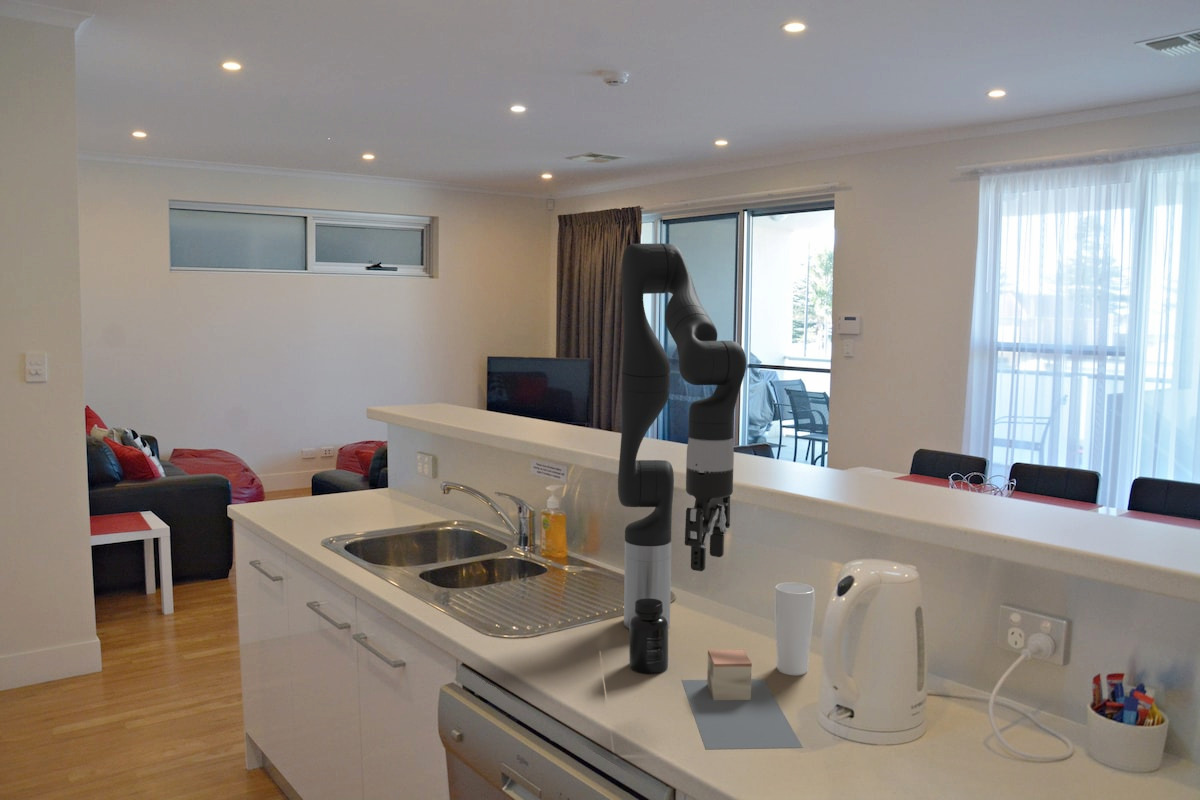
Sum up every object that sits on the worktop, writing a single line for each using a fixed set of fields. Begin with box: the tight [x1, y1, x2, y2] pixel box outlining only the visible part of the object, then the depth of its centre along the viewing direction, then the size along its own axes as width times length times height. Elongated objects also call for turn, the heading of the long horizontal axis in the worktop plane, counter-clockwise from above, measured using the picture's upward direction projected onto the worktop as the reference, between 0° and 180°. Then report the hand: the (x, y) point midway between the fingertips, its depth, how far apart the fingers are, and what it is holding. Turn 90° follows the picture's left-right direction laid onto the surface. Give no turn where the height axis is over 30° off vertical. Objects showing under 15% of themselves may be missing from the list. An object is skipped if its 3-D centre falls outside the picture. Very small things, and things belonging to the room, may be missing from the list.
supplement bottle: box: [628, 598, 669, 675], centre depth 155 cm, size 7×7×12 cm
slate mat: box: [681, 678, 804, 750], centre depth 138 cm, size 24×14×1 cm, turn 3°
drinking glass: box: [773, 581, 815, 676], centre depth 154 cm, size 7×7×15 cm
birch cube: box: [706, 649, 752, 700], centre depth 145 cm, size 6×6×6 cm
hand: (707, 563), depth 145 cm, fingers open, 8 cm apart
